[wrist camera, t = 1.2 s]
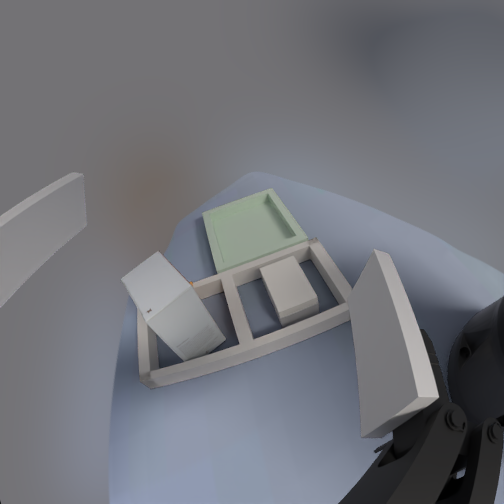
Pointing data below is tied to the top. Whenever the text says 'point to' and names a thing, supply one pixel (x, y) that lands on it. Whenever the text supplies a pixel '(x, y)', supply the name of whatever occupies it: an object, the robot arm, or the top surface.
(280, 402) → the top surface
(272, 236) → the tray
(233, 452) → the top surface
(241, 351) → the beige divided frame
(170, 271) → the small box
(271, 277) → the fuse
